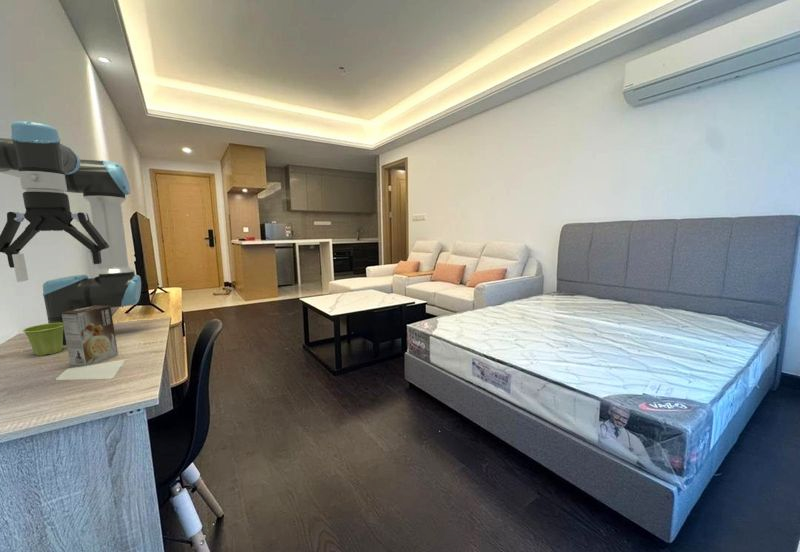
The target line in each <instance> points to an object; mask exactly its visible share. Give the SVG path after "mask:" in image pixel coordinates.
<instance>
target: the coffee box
mask: <svg viewBox="0 0 800 552" xmlns="http://www.w3.org/2000/svg"><path fill="white" fill-rule="evenodd" d="M61 316H62V321H63V327H64V332H65V338H66V343H67V345H66V348H67V354H68V359H69V364H70V365H73V366H74V365H75V366H88V365H94V364H97V363H98V362H101V361H105V360H107V359H110V358H112V357H115V356H117V355H119V352H118V351H119V350H118V345H117V338H116V333H115V332H116V331H115V327H114V319H113V315H112V308H111V307H110V306H100V305H94V306H89V307H85V308H80V309H75V310H70V311H66V312H61Z"/></svg>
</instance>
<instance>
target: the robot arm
mask: <svg viewBox="0 0 800 552" xmlns="http://www.w3.org/2000/svg"><path fill="white" fill-rule="evenodd" d="M10 127H11V128H10V129H11V136H10V138H2V137H0V173H1V174H5V175H9V176H12V177H17V178H19V180H20V186H21V189H22V190H24V192H23V193H22V198H23V204H24V208H25V212H23V213H22V212H18V211H8V212H7V213H6V223H5V225H4V226H3V229H2V231H1V233H0V253H3V254H5V255H6V258H7V262H8V266H9V268H10V269H11V268H12V269H13V268H14V273H15V277H16V282H17V283H18V282H21V283H23V282H26V281H29V276H28V270H27V265H26V258H25V254H24V253H21V250H22V249H23V248H24V247H25V246H26V245H27V244H28V243H30V241H31V240H32V239H33V238H34V237H35V236H36V235H37V234H38V233H40V232H51V231H53V232H54V231H55V232H59V231H61V232H62V231H64V232H65V233H68V234H69V235H70V236H71V237H73V238H74V239H75V240H76V241H78V242H79V243H81V244H82V245H83V246H85V247H86V248H87V249H88V250H90V251H88V252H86V255H87V260H88V261H87V263H88V267H89V268H88V269H89V274H90V278H89V276H88V275H87V274H76V275H72V276H71V275H70V276H64V277H59V278H54V279H50V280H46V281H45V282H43V284H42V291H43V292H42V296H43V299H44V300H43V301H44V306H45V310H46V317H47V321H48V323H47V324H49V323H63V321H62V316H61V312H66V311H70V310H75V309H80V308H85V307H89V306H94V305H100V306H110V307H111V309H112V308H124V307H131V306H135V305H137V304H138V303H139V301H140V298H141V292H142V279H141V276H140V275H138V274H135V273H136V272H135V269H133V268H131V267H130V266H129V260H128V259H129V258H128V250H127V242H126V235H125V225H124V218H123V210H122V203H124V201H126V199H127V198H126V196H129V195H130V194H131V187H130V182H129V179H128V177H127V174H126V172H125V171H126V170H125V169H124V167H123V166H122V165H121V164H120V163H119V162H114V161H108V160H95V159H80V157H79V155H77V153H76V152H75V151H74V150H73V149H72V148H70V147H69V146H67V145H64V144H62V143H61V139H60V137H59V132H58V130H57V129H56V128H55V127H53V126H51V125H49V124H44V123H41V122H40V123H39V122H35V121H28V120H27V121H26V120H24V121H23V120H18V121H14V122H12V123H11V126H10ZM67 193H73V194H75V193H76V194H82V196H83V199H85V201H87V202H89V205H90V214H91V220H92V222H91V220H90V217H89V214H88V213H86V212H81V211H80V212H78V213H72V212H71V206H70V199H69V195H68V194H67ZM74 219H75V221H77V222H79V224H80V225H81V226H82V228H83V229H84V230H85V231H86V232H87V234H88V235H89V236H90V238H91V239H92V240H93V241H94V242H93V241H92V240H91V239H90V238H88V236H86V235H85V234H83V233H82V232H81V231H80V230H78V228H77V227H75V226H74V225H73V224H72V223H71V222H72V221H73V220H74ZM24 220H26V221H27V222H29V224H28V225H27V226H26V227H25V228H24V231H22V232H21V234H19V236H18V237H16V239H15V240H14V238H15V236H16V234H17V231H18V230H19V228H20V225H21V223H22V222H24ZM13 240H14V241H13ZM63 346H67V343H66V338H65V332H64V330H63Z"/></svg>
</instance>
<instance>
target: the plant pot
mask: <svg viewBox="0 0 800 552" xmlns="http://www.w3.org/2000/svg"><path fill="white" fill-rule="evenodd" d="M63 330H64V327H63V323H49V324H48V323H43V324H37V325H34V326H29V327H26V328H24V329H22V332H23V333H25V336H26V337H28V340H29V342H30V345H31V347H32V351H33V353H34V355H35V356H39V357H41V356H42V357H43V356H46V355H53V354H56V353H59V352H61V351H63V348H64V347H63V346H64V345H63Z"/></svg>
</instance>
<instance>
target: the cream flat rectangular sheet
mask: <svg viewBox="0 0 800 552" xmlns="http://www.w3.org/2000/svg"><path fill="white" fill-rule="evenodd" d="M125 362H126V359H120V360H119V359H118V360H114V361H107V362H101V363H93V364H90V365H87V366H84V365H81V366H77V367H76V366H75V367H70V368H66V369H65V370H64V371H63V372H62V373H61V374H60V375H58V376H57V378H56V379H55V380H56V381H59V380H60V381H61V380H62V381H63V380H64V381H67V380H69V381H70V380H71V381H72V380H100V379H101V380H104V379H110V380H111V379H114V377H115V376H116V374H117V373H118V372H119V370H120V369H121V368H122V366H123V365H124V363H125Z"/></svg>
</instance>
